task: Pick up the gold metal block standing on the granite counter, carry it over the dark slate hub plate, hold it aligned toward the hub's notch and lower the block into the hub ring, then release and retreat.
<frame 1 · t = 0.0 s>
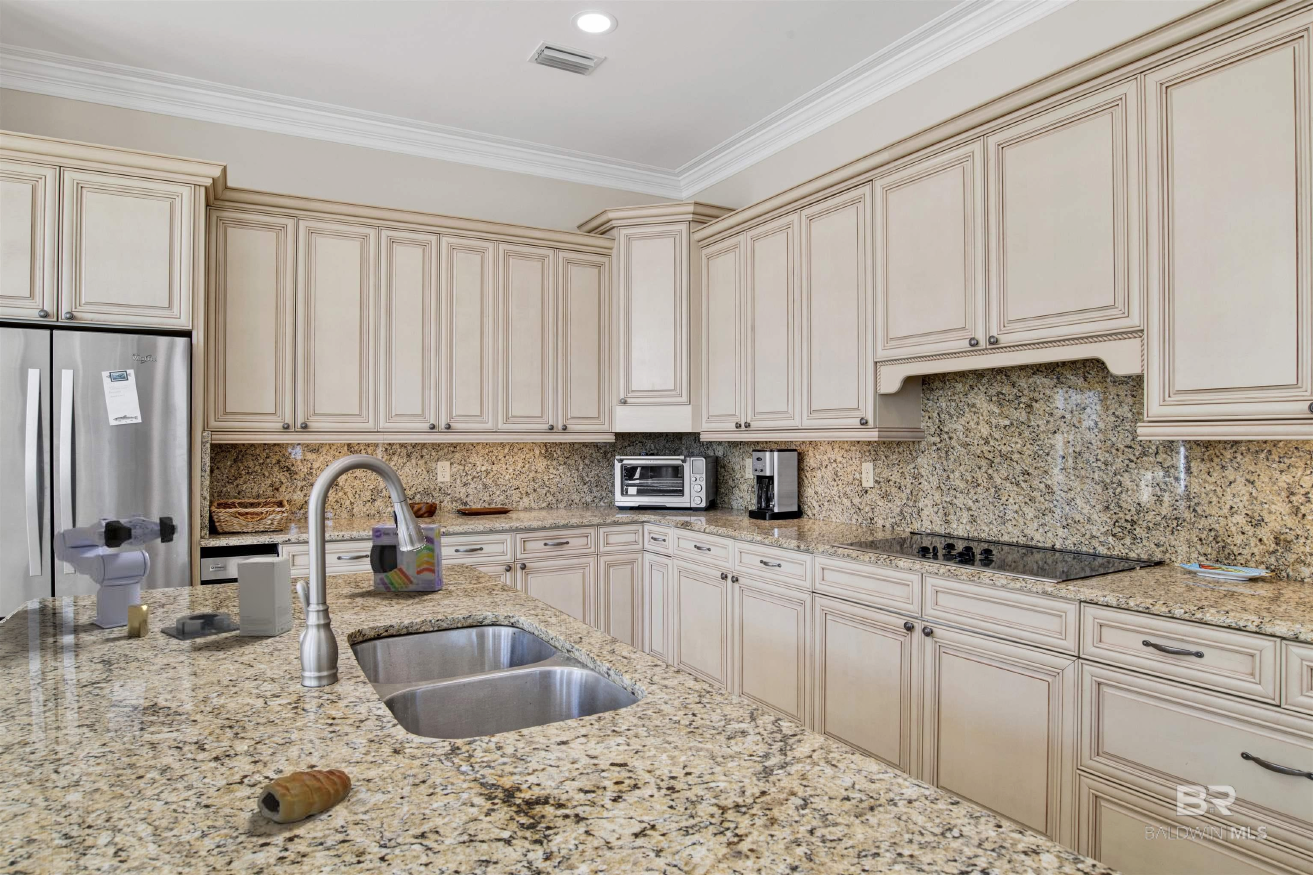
hand: (151, 531, 152), 22 cm above the worktop, tool horizontal, fingers open, 7 cm apart
cake pan box: (406, 590, 200), on the worktop
skincare box: (265, 633, 155), on the worktop
gold metal block: (138, 634, 154), on the worktop
hub plate: (203, 629, 158), on the worktop
pastry: (302, 808, 82), on the worktop
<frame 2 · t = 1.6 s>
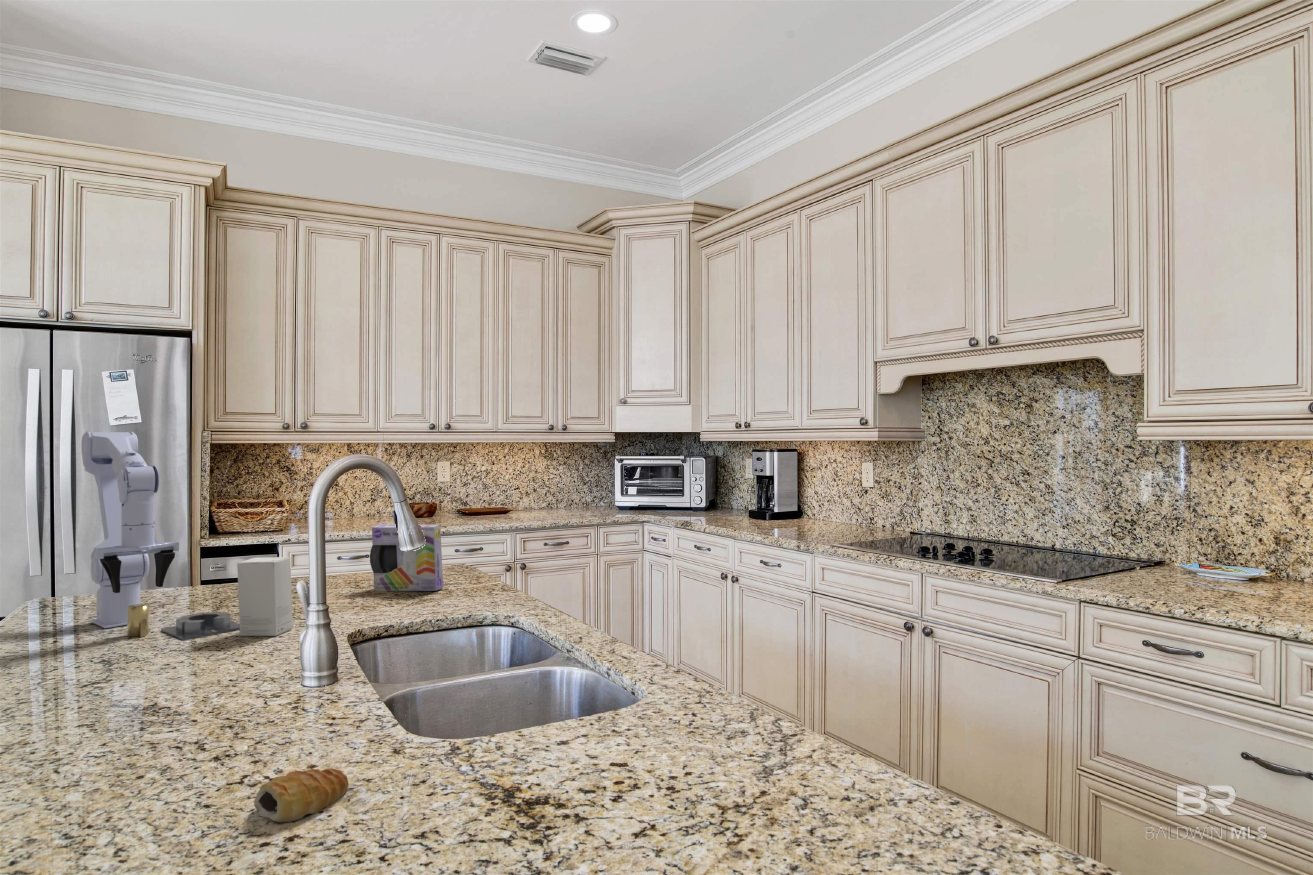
hand: (138, 589, 154), 9 cm above the worktop, tool pointing down, fingers open, 7 cm apart
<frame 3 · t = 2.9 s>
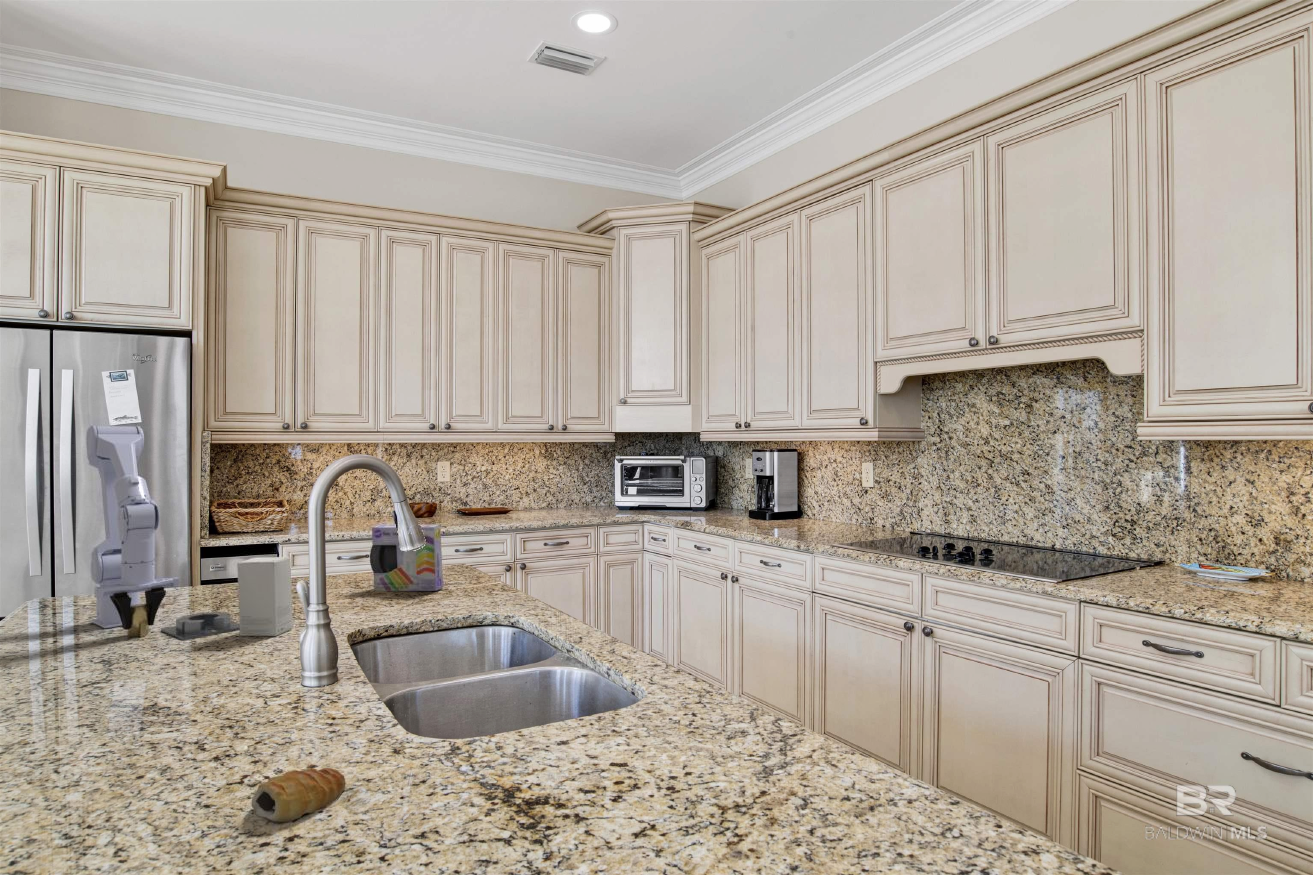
hand: (138, 626, 154), 2 cm above the worktop, tool pointing down, fingers closed on gold metal block, 4 cm apart
gold metal block: (138, 634, 154), on the worktop, touching gripper
when the fingers open (3 cm above the worktop, at t = 6.3 s): gold metal block stays where it is, resting on hub plate.
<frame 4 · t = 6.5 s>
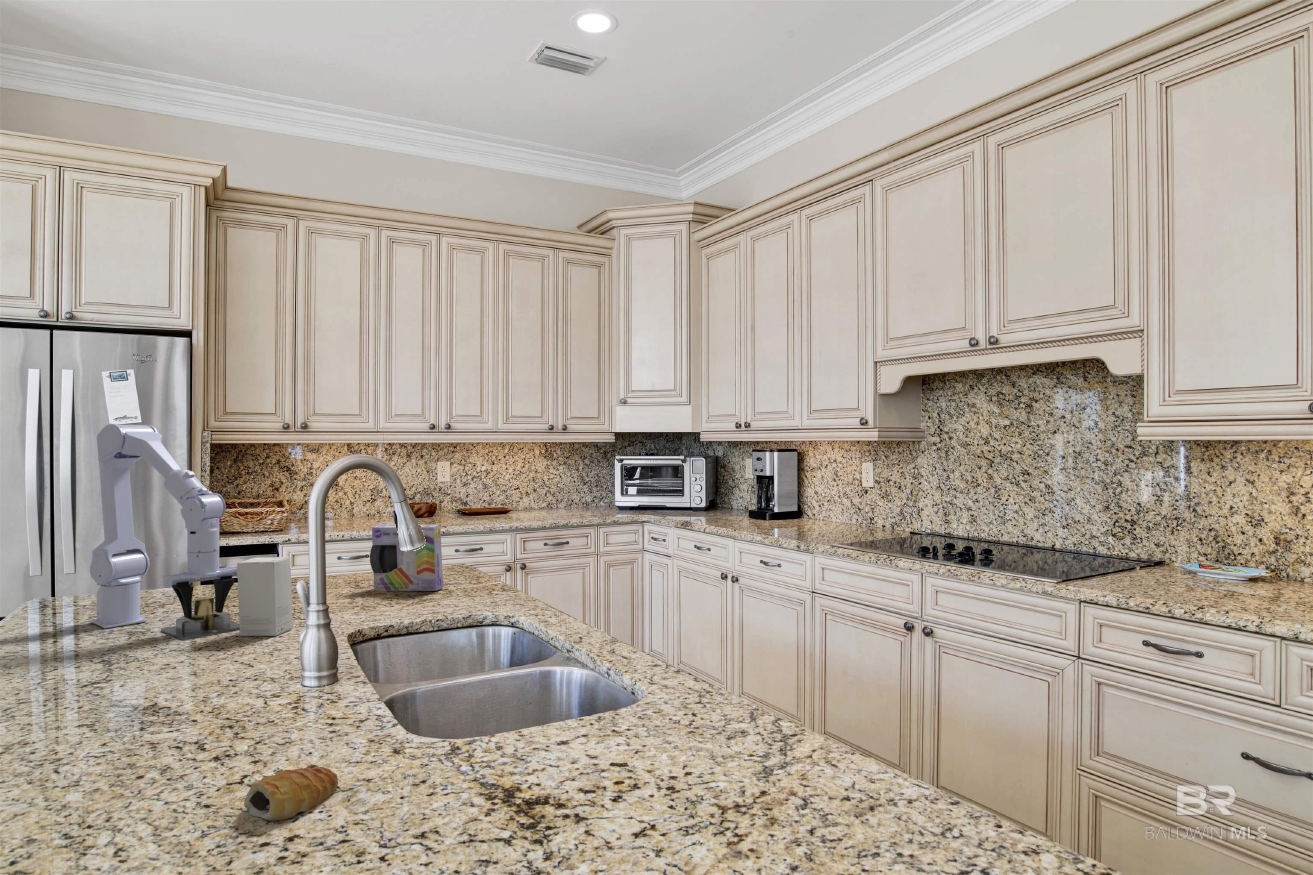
hand: (203, 614, 158), 3 cm above the worktop, tool pointing down, fingers open, 5 cm apart
gold metal block: (202, 627, 158), point 1 cm above the worktop, touching hub plate
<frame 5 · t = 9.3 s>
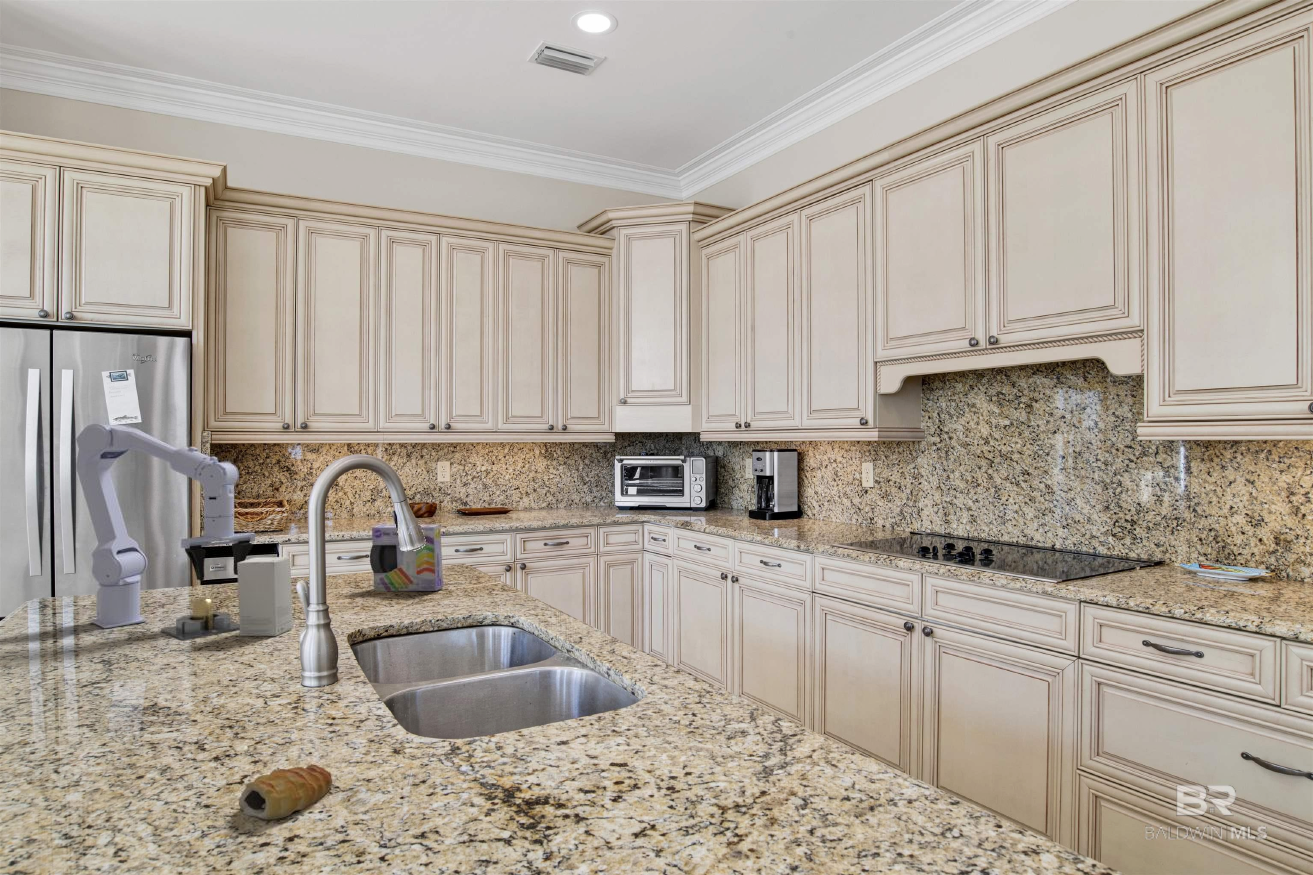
hand: (219, 577, 165), 10 cm above the worktop, tool pointing down, fingers open, 7 cm apart
at the end: gold metal block 0.2 cm off-centre on the hub plate, point 0.5 cm above the hub plate's base; gold metal block tilted 0°; the gripper is holding nothing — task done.
